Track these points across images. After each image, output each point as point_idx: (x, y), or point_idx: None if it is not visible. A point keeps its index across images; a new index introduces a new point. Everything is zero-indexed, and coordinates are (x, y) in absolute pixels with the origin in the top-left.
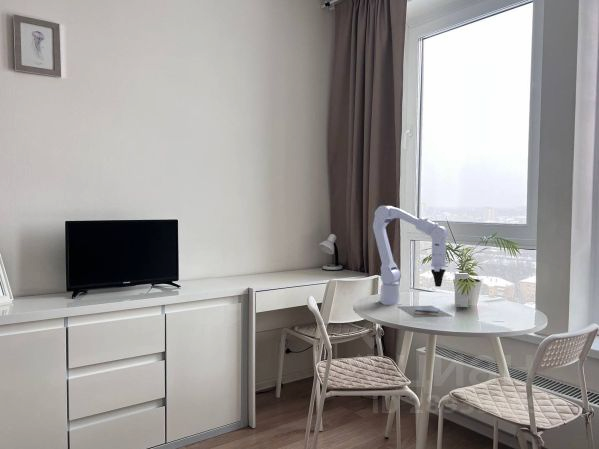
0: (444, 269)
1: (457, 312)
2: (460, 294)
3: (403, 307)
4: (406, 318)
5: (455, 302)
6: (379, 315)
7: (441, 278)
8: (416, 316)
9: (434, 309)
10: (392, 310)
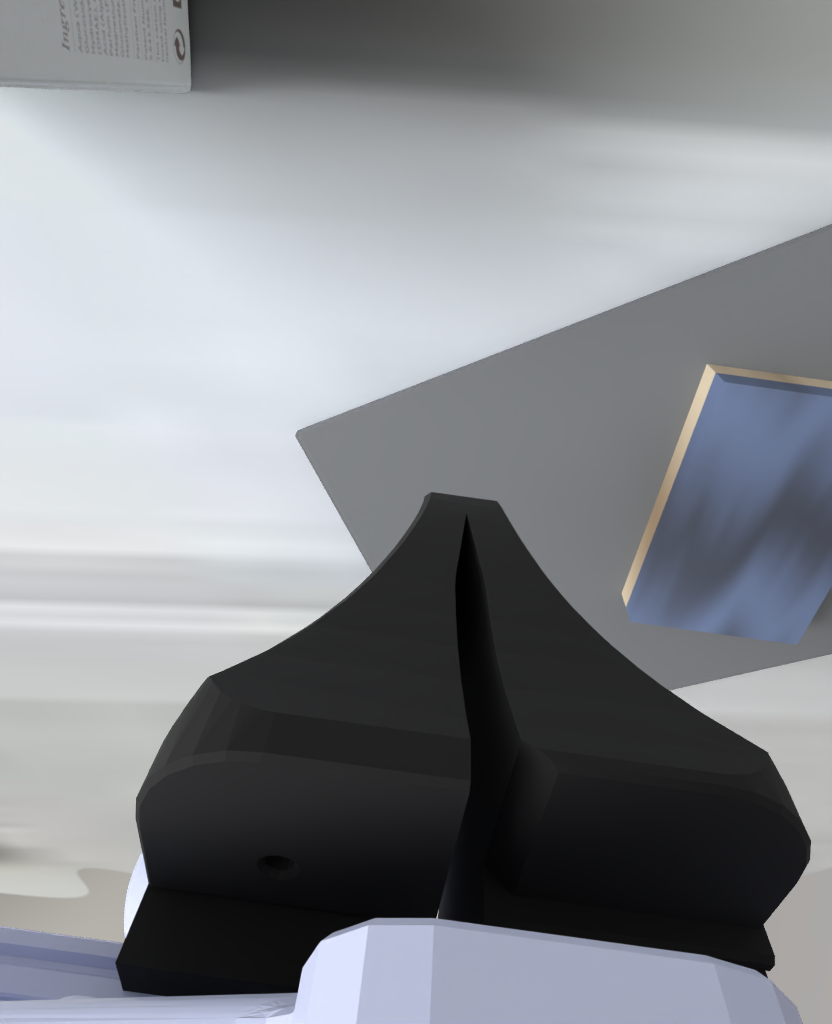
0: (243, 798)
1: (598, 71)
2: None
3: None
4: None
5: (163, 77)
6: (811, 827)
7: (578, 627)
8: None
9: (790, 448)
10: None
